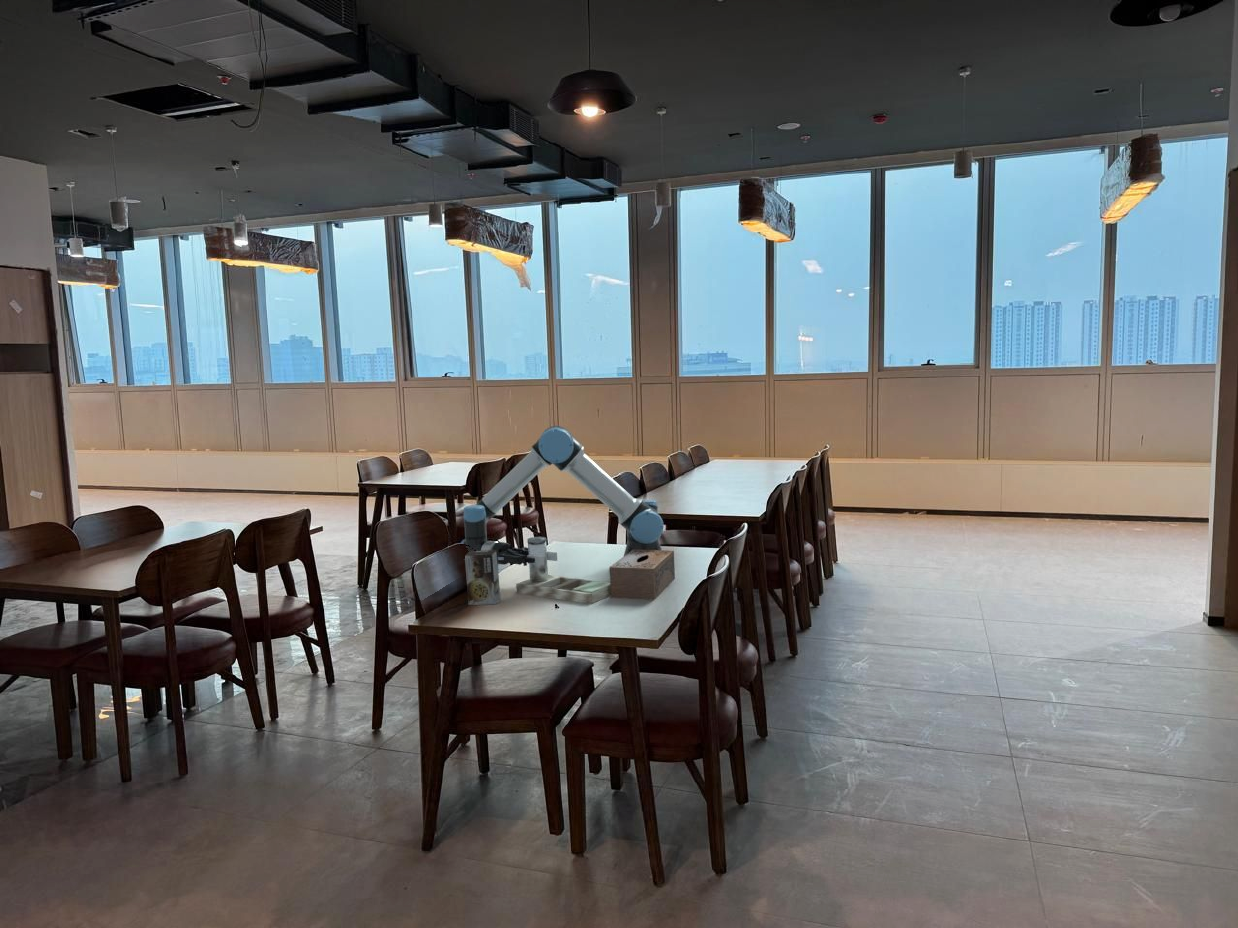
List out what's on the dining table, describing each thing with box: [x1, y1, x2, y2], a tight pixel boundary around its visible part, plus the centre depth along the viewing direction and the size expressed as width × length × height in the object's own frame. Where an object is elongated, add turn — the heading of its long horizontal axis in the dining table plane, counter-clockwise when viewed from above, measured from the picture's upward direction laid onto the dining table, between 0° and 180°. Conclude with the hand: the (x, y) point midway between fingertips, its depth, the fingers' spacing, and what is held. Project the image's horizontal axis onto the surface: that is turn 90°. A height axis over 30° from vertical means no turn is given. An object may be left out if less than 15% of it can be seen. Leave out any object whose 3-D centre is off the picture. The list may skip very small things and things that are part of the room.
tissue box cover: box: [608, 549, 676, 600], centre depth 268 cm, size 26×14×10 cm, turn 162°
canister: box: [527, 536, 549, 583], centre depth 271 cm, size 6×6×14 cm
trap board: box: [515, 574, 611, 605], centre depth 266 cm, size 30×14×3 cm, turn 56°
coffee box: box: [464, 550, 501, 606], centre depth 258 cm, size 9×6×16 cm
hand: (549, 558), depth 268 cm, fingers closed on canister, 6 cm apart
